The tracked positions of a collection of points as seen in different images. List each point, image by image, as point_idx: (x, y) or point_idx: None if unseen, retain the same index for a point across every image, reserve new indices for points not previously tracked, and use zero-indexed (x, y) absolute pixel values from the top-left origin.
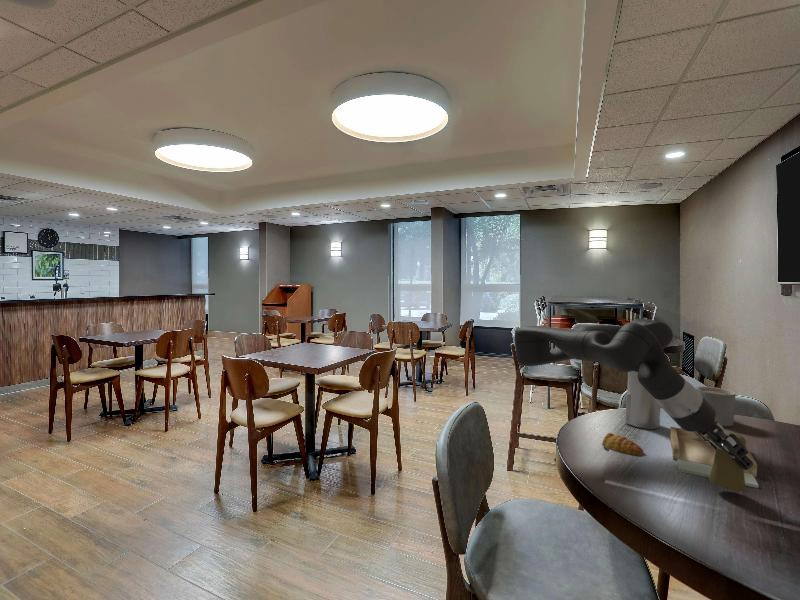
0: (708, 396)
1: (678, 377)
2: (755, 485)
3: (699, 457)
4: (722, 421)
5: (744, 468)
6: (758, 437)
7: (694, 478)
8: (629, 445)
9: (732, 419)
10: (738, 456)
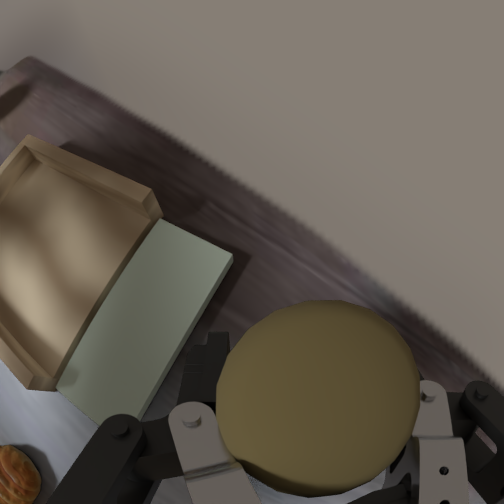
0: None
1: None
2: (229, 261)
3: (48, 299)
4: None
5: None
6: (23, 101)
7: (157, 410)
8: (10, 489)
9: None
10: (479, 440)
